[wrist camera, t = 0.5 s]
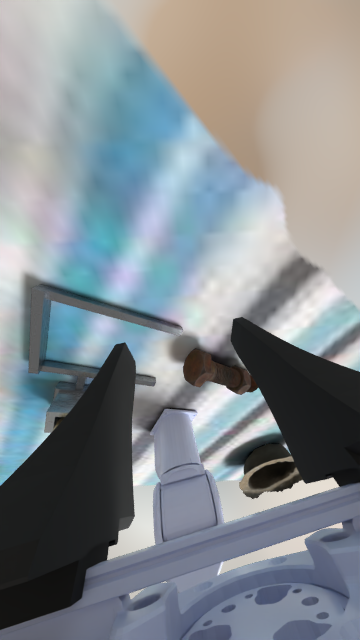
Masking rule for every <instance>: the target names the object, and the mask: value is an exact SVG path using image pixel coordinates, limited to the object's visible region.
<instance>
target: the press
mask: <svg viewBox="0 0 360 640" xmlns="http://www.w3.org/2000/svg"><path fill="white" fill-rule="evenodd" d="M51 300H52V301H56V302H59V303H63V304H67V305H70V306H74V307H77V308H81V309H85V310H88V311H92V312H95V313H99V314H103V315H106V316H110V317H113V318H117V319H120V320H124V321H128V322H131V323H135V324H138V325H142V326H146V327H149V328H153V329H156V330H160V331H163V332H167V333H171V334H174V335H178V336H181V334H182V332H183V329H182V327H180V326H177V325H174V324H170V323H167V322H164V321H161V320H157V319H154V318H151V317H147V316H144V315H141V314H138V313H134V312H131V311H128V310H125V309H121V308H118V307H115V306H111V305H108V304H105V303H102V302H98V301H95V300H92V299H88V298H85V297H82V296H79V295H75V294H72V293H69V292H65V291H62V290H59V289H56V288H52V287H49V286H46V285H42V284H40V285H38V286H36V287H33V288H32V294H31V320H30V347H29V373H35V374H38V373H39V372H40V371H45V372H52V373H59V374H67V375H74V376H78V379H77V384H74V383H66V382H59V383H58V385H57V386H56V388H55V393H54V400H53V402H52V404H51V405H50V407H49V409H48V411H47V414H46V422H45V430H44V432H47V433H52V431H53V429H54V427H55V425H56V423H57V421H58V420H59V419H60V418H63V417H66V415H67V414H68V413H69V412H70V411H71V409H72V408H73V407H74V406H75V404H76V403H77V402H78V400H79V399H80V398H81V396H82V395H83V394H84V392H85V391H86V389H87V388H88V387H89V385H85V383H86V379H87V377H89V378H95V377H96V375H97V373H98V372H99V370H100V369H98V368H91V367H85V366H79V365H72V364H66V363H60V362H53V361H47V360H45V359H46V349H47V338H48V328H49V317H50V307H51ZM155 383H156V378H154V377H148V376H142V375H136V380H135V384H140V385H147V386H154V385H155Z"/></svg>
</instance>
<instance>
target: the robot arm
mask: <svg viewBox="0 0 360 640" xmlns="http://www.w3.org/2000/svg"><path fill="white" fill-rule="evenodd" d="M231 342H232V345H233V347H234V349H235V351H236V353H237V354H238V356H239V358H240V359H241V361H242V362H243V364H244V365H245V367H246V368H247V370H248V371H249V373H250V375H251V376H252V378H253V379H254V381H255V382H256V384H257V386H258V387H259V389H260V391H261V393H262V395H263V396H264V398H265V400H266V402H267V404H268V406H269V408H270V410H271V412H272V414H273V416H274V418H275V420H276V422H277V424H278V427H279V429H280V431H281V433H282V435H283V437H284V439H285V442H286V444H287V446H288V449H289V451H290V453H291V456H292V458H293V460H294V463H295V465H296V468H297V470H298V472H299V474H300V475H301V477H302V479H303V481H304V482H305V483H306V484H307V483H311V482H316V481H320V480H325V479H329V478H332V477H333V478H334V479H335V481H336V482H337V484H338V485H339V486H340V487H338V488H334V489H331V490H328V491H325V492H322V493H319V494H315V495H312V496H309V497H306V498H303V499H300V500H296V501H293V502H290V503H287V504H284V505H281V506H278V507H274V508H271V509H269V510H265V511H262V512H258V513H255V514H252V515H249V516H246V517H243V518H240V519H237V520H233V521H230V522H227V523H224V519H223V512H222V507H221V501H220V497H219V493H218V490H217V486H216V483H215V480H214V477H213V475H212V474H211V473H210V472H209V471H208V470H204V466H203V464H201V461H200V457H199V453H198V448H197V444H196V440H195V435H194V431H193V427H192V420H193V419H194V418H195V416H196V415H197V414H198V413H197V411H188V410H176V409H165V410H164V411H163V413H162V414H161V416H160V418H159V419H158V421H157V422H156V424H155V426H154V427H153V429H152V430H151V432H150V435H154V447H155V470H156V473H157V476H158V477H159V479H160V480H161V483H160V482H158V483H157V484H156V487H155V488H154V494H153V517H154V536H155V543H156V545H154V546H151V547H148V548H145V549H141V550H138V551H136V552H132V553H129V554H126V555H123V556H119V557H116V558H113V559H110V560H107V555H108V547H109V546H112V545H116V544H117V542H118V532H119V531H120V530H123V529H126V528H129V526H130V524H131V523H132V521H133V519H134V516H135V515H134V499H133V476H132V411H133V401H134V391H135V380H136V365H135V360H134V358H133V356H132V354H131V352H130V351H129V349H128V347H127V345H126V343H121V344H116V345H115V346H114V348H113V350H112V351H111V353H110V354H109V356H108V358H107V359H106V361H105V363H104V364H103V366H102V367H101V369H100V370H99V372H98V373H97V375H96V377H95V378H94V380H93V381H92V382H91V384H90V385H89V387H88V388H87V389H86V391H85V392H84V394H83V395H82V396H81V398H80V399H79V400H78V402H77V403H76V404H75V406H74V407H73V408H72V409H71V411H70V412H69V413H68V414H67V415H66V417H65V418H64V419H63V420H62V421H61V422H60V424H59V425H58V426H57V427H56V428H55V429H54V430H53V431H52V433H51V434H50V435H49V436H48V437H47V438H46V439H45V441H44V442H43V443H42V444H41V445H40V446H39V447H38V448H37V449H36V450H35V451H34V452H33V453H32V454H31V455H30V457H29V458H28V459H27V460H26V461H25V462H24V463H23V464H22V465H21V466H20V467H19V468H18V469H17V470H16V471H15V472H14V473H13V474H12V475H11V476H10V477H9V478H8V479H7V480H6V481H5V482H4V483H3V484H2V485H1V486H0V640H360V372H358V371H355V370H353V369H350V368H347V367H344V366H341V365H339V364H336V363H333V362H331V361H328V360H326V359H323V358H321V357H318V356H316V355H314V354H311V353H309V352H307V351H304V350H302V349H300V348H298V347H296V346H294V345H292V344H290V343H288V342H286V341H284V340H282V339H280V338H278V337H276V336H274V335H272V334H271V333H269V332H267V331H265V330H264V329H262V328H260V327H258V326H257V325H255V324H253V323H252V322H250V321H248V320H246V319H245V318H243V317H240V318H236V319H233V326H232V333H231ZM340 522H342V525H343V529H337V528H328V529H322V528H325V527H328V526H331V525H334V524H337V523H340ZM319 529H322V530H319ZM316 530H319V531H317V532H315V533H314V534H312V535H311V536H310V537H308V538H306V539H305V544H306V546H307V549H308V550H306V551H302V552H298V553H293V554H289V555H285V556H280V557H276V558H272V559H267V560H263V561H259V562H255V563H252V564H248V565H245V566H242V567H239V568H236V569H233V570H231V571H228V572H225V573H223V574H220V575H219V573H220V570H221V567H222V565H223V562H224V561H227V560H230V559H233V558H236V557H239V556H242V555H245V554H248V553H251V552H254V551H257V550H259V549H262V548H266V547H269V546H272V545H275V544H277V543H280V542H283V541H286V540H290V539H293V538H296V537H298V536H302V535H305V534H308V533H310V532H314V531H316ZM164 581H166V582H167V583H161V582H164ZM146 587H147V588H146ZM143 588H145V589H144V590H143V591H141V592H140V593H139V594H138V595H136V596H135V597H134V598H133V599H132V600H131V599H130V596H129V593H131V592H134V591H137V590H140V589H143Z"/></svg>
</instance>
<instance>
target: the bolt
mask: <svg viewBox="0 0 360 640" xmlns="http://www.w3.org/2000/svg"><path fill="white" fill-rule="evenodd" d="M183 373H184V378H185V380H186V381H188V382H189V383H190V384H192V385H194V386H197V387H201V386H202V385H203V383H204V382H205V381H211V382H214V383H217V384H221V385H225V386H226V387H227V388H228V389H229V390H231V391H233V392H234V393H236V394H240V395H242V394H243V393H245V392H253V391H255V390H257V388H258V386H257V384H256V382H255V381H254V379H253V378H252V376H251V375H249V372H248V371H247V370H244V369H242V368H239V367H236V366H232V367H231V368H230V367H227V366H224V365H222V364H219V363H216V362H213V361H212V360H211V354H208V353H206V352H203V351H201V350H198V349H194V350H193V351H191V352H190V354H189V355H188V356H187V358H186V360H185V363H184V366H183Z"/></svg>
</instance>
